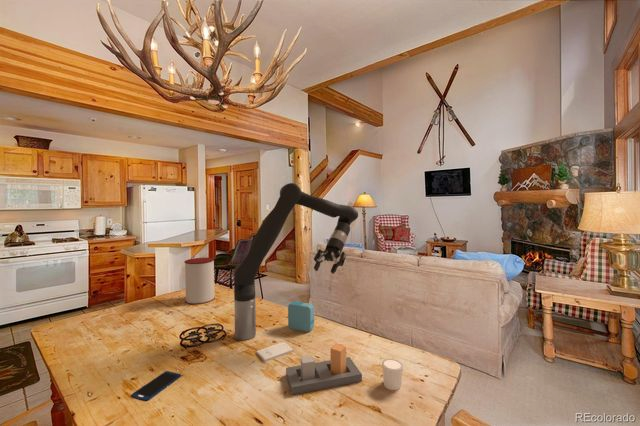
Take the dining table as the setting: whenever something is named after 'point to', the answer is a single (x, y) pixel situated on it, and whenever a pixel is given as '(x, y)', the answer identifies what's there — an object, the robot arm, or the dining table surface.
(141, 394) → the cell phone
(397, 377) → the shot glass
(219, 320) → the dining table surface
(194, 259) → the container
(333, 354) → the plug
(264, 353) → the external hard drive
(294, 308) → the data package
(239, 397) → the dining table surface
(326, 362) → the grey block holder
